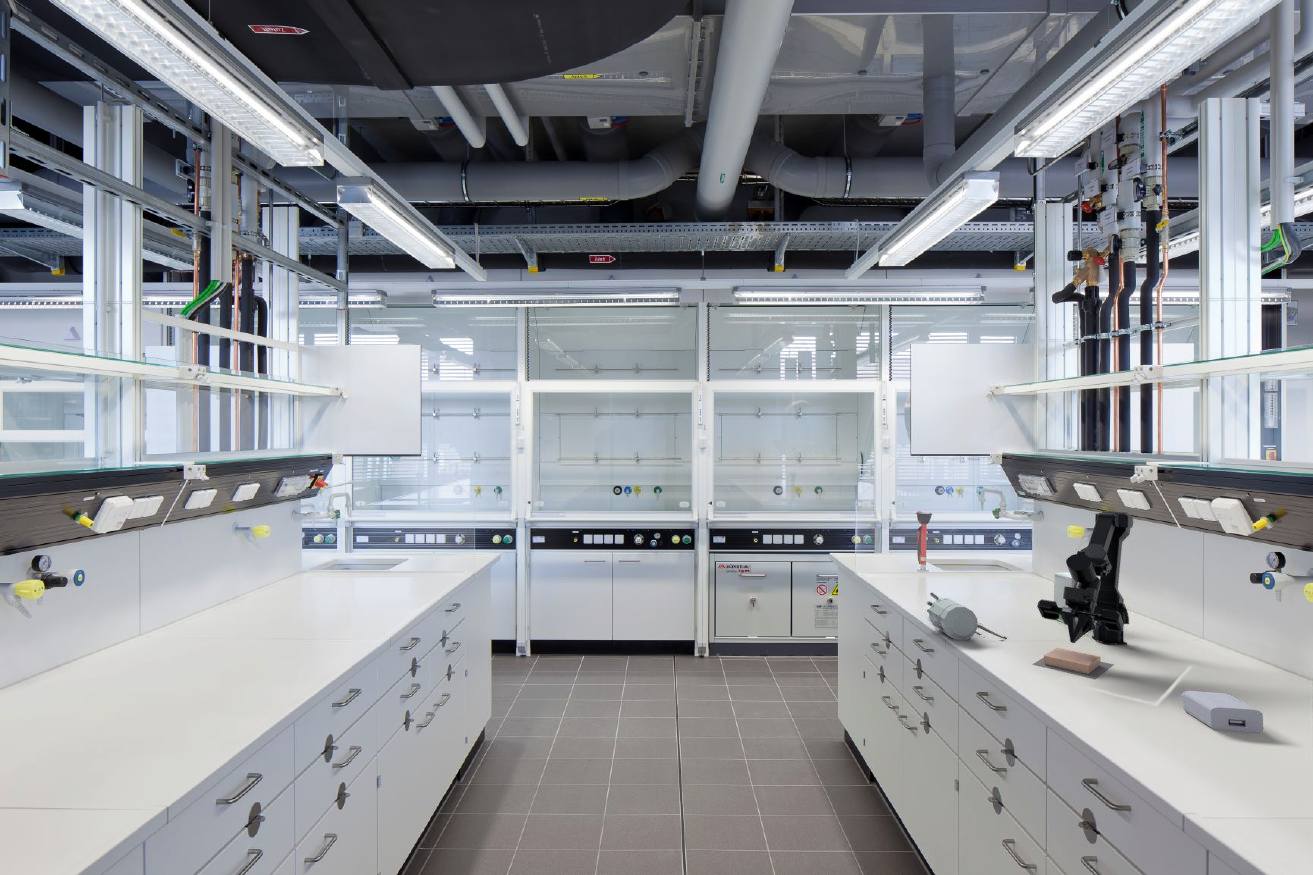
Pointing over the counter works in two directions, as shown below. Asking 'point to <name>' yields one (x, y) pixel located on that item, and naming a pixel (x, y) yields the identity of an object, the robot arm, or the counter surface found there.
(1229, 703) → the charger
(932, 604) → the device
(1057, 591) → the skincare box
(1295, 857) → the counter surface
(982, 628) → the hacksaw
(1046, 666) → the mat
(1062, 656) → the tile
